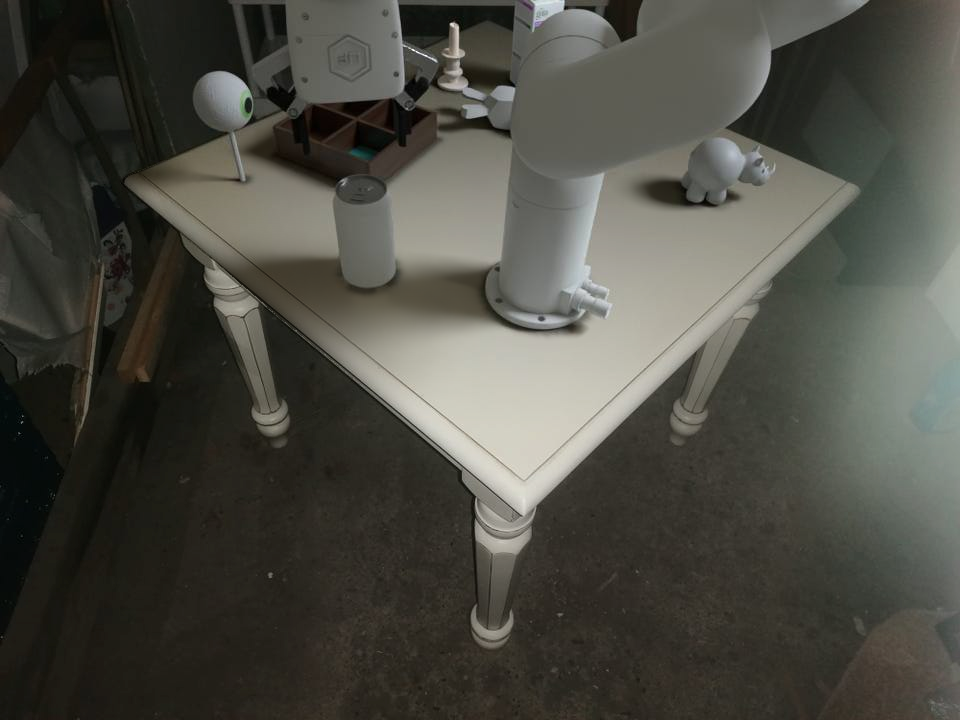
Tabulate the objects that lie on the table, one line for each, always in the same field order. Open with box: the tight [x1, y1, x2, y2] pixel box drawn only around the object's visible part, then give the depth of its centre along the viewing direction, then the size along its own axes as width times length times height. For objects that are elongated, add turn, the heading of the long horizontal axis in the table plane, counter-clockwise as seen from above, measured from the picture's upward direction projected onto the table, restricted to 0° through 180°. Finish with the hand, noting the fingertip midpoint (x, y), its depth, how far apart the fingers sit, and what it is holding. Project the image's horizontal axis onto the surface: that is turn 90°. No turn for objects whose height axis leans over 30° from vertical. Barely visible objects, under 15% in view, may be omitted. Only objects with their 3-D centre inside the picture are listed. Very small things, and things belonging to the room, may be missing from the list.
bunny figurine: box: [460, 85, 515, 131], centre depth 105 cm, size 10×5×15 cm
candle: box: [437, 20, 469, 92], centre depth 110 cm, size 5×5×10 cm
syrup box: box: [509, 0, 565, 86], centre depth 110 cm, size 6×6×14 cm
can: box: [332, 174, 397, 289], centre depth 77 cm, size 6×6×12 cm
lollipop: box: [192, 70, 254, 182], centre depth 87 cm, size 7×7×15 cm
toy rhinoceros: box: [680, 136, 776, 206], centre depth 93 cm, size 7×12×8 cm, turn 86°
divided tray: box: [271, 98, 438, 183], centre depth 98 cm, size 17×17×4 cm
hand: (353, 144), depth 68 cm, fingers open, 9 cm apart
